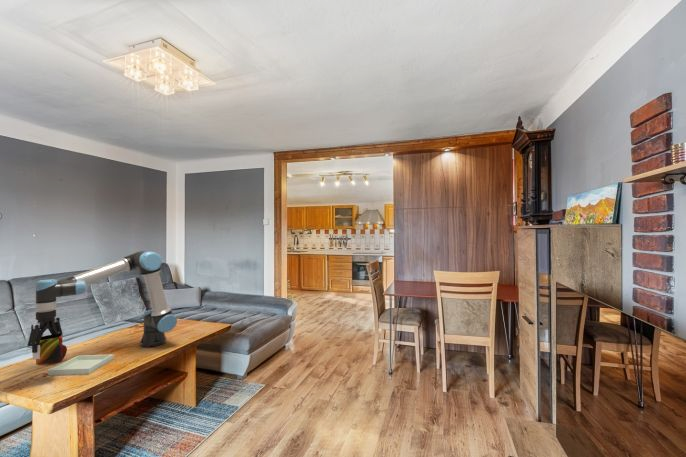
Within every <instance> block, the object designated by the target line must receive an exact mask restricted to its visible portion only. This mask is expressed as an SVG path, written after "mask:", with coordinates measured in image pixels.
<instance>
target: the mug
mask: <svg viewBox="0 0 686 457" xmlns="http://www.w3.org/2000/svg"><path fill="white" fill-rule="evenodd" d="M39 345H40V359H35V365H36V366H43V365H49V364H55V363H54V362H57V361H60V360H61V359H62V345H63V334H53V335H51V334H47V335H42V338H41V340H40V342H39ZM60 362H61V361H60ZM57 363H58V362H57Z"/></svg>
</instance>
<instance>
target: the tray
mask: <svg viewBox="0 0 686 457" xmlns="http://www.w3.org/2000/svg"><path fill="white" fill-rule="evenodd" d="M113 360H115V355H114V354H92V355H91V354H90V355H89V354H88V355H86V354H85V355H83V354H82V355H76V356H75V357H72V358H70V359H68V360H66V361H64V362H62V363H60V364H58V365H56V366H54V367H52V368H49V369H48V370H47V376H48V377H52V376H53V377H54V376H55V377H57V376H82V375H90V374H92V373H94V372H95V371H97V370H99V369H100V368H102V367H104V366H105V365H107V364H108V363H110V362H112V361H113Z"/></svg>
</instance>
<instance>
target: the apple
mask: <svg viewBox="0 0 686 457" xmlns="http://www.w3.org/2000/svg"><path fill="white" fill-rule="evenodd" d="M67 351H68V347H67V346H66V345H65V344H62V359H61V360H60V361H57V362H54V363H53V364H57V363H60V362H62V361H63V360H64V359H65V357H66V355H67Z"/></svg>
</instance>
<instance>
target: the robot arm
mask: <svg viewBox="0 0 686 457" xmlns="http://www.w3.org/2000/svg"><path fill="white" fill-rule="evenodd" d="M162 264H163V261H162V257H161V255H159V253H157V252H154V251H150V250H149V251H143V250H141V251H136V252H134V253H131V254H129V255H126V256H122V257H121V258H120V259H119V260H117V261H113V262H111V263H108V264H105V265H102V266H99V267H96V268H92V269H89V270H87V271H83V272H81V273H78V274H75V275H73V276H70V277H67V278H60V279H52V278H50V279H41V280H38V281H37V282H36V284H35V311H36V312H35V320H37V323H36V324H31V326H30V330H31V331H30V332H29V333H30V334H29V339H28V340H27V341H28V342H27V347H31V353H32V360H36V359H40V345H39V342H40V340H41V338H42V337H43V336H44V333H45V332H46V331H47V330H48V331H49V333H50V335H53V334H62V335H63V329H62V326H61V322H60V320H61V319H60V317H57V310H56V309H57V298H61V297H69V296H78V295H83V294H85V293H86V291H87V286H88V285H92V284H94V283H97V282H98V281H101V280H104V279H107V278H109V277H113V276H115V275H118V274H121V273H124V272H132V271H134V270H138V272H139V275H140V276H142V277H143V278H144V279H143V280H144V281H145V286H146V290H147V294H148V297H149V301H150V304H151V305H150V306H151V309H149V310H145V311H144V313H143V334H142V337H141V339H140V341H139V342H140V343H139V344H140V347H141V346H142V347H141V348H151V347H150V346H154V347H158V346H157V345H159V346H161V344H162V345H164V344H166V343H167V337H166V334H165V333H170V332H171V331H172V330H174V329H175V327H176V326H177V323H178V318H177V316H176V315H175V314H173V310H172V308H171V307H170V306H168V302H167V298H166V294H165V291H164V286H163V283H162V278H161V276H160V275H161V274H160V272H161V271H162V268H161V265H162ZM165 342H166V343H165ZM163 343H164V344H163Z"/></svg>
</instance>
